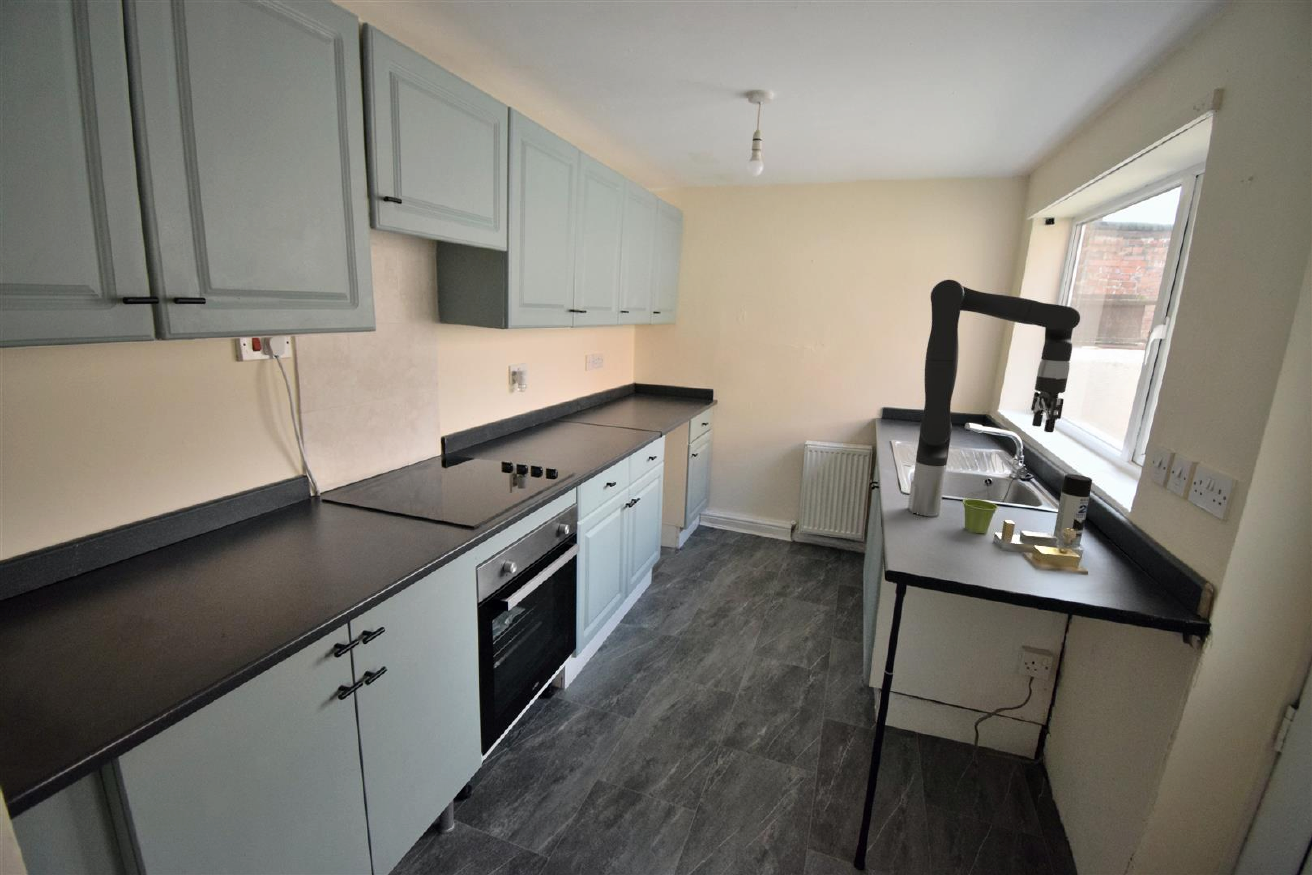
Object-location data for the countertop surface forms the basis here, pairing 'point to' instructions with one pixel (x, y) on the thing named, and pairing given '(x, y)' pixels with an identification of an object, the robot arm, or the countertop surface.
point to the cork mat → (1053, 566)
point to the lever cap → (1056, 556)
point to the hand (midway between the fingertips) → (1042, 429)
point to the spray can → (1073, 505)
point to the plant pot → (978, 515)
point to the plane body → (1034, 540)
